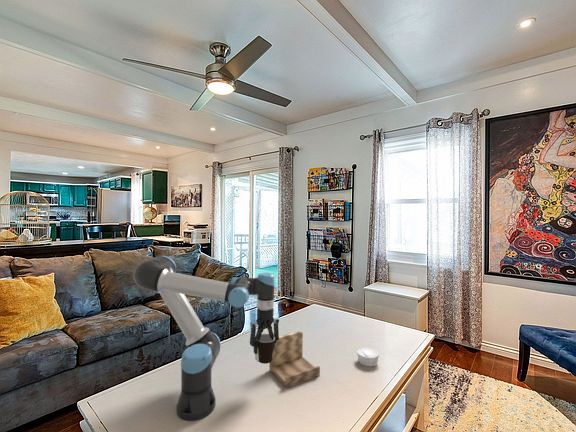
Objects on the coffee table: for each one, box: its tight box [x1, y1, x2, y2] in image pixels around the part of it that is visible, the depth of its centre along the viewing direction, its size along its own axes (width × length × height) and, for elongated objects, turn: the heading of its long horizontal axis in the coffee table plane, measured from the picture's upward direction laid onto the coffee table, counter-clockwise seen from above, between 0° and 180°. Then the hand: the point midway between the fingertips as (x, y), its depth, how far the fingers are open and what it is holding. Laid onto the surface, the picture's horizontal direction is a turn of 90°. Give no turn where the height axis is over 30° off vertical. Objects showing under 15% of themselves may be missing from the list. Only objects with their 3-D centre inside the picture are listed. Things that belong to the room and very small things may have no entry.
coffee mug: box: [256, 333, 275, 365], centre depth 130 cm, size 12×9×10 cm
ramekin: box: [356, 347, 380, 368], centre depth 152 cm, size 11×11×5 cm
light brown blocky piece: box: [268, 330, 321, 389], centre depth 141 cm, size 19×16×16 cm
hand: (264, 358), depth 130 cm, fingers closed on coffee mug, 6 cm apart
